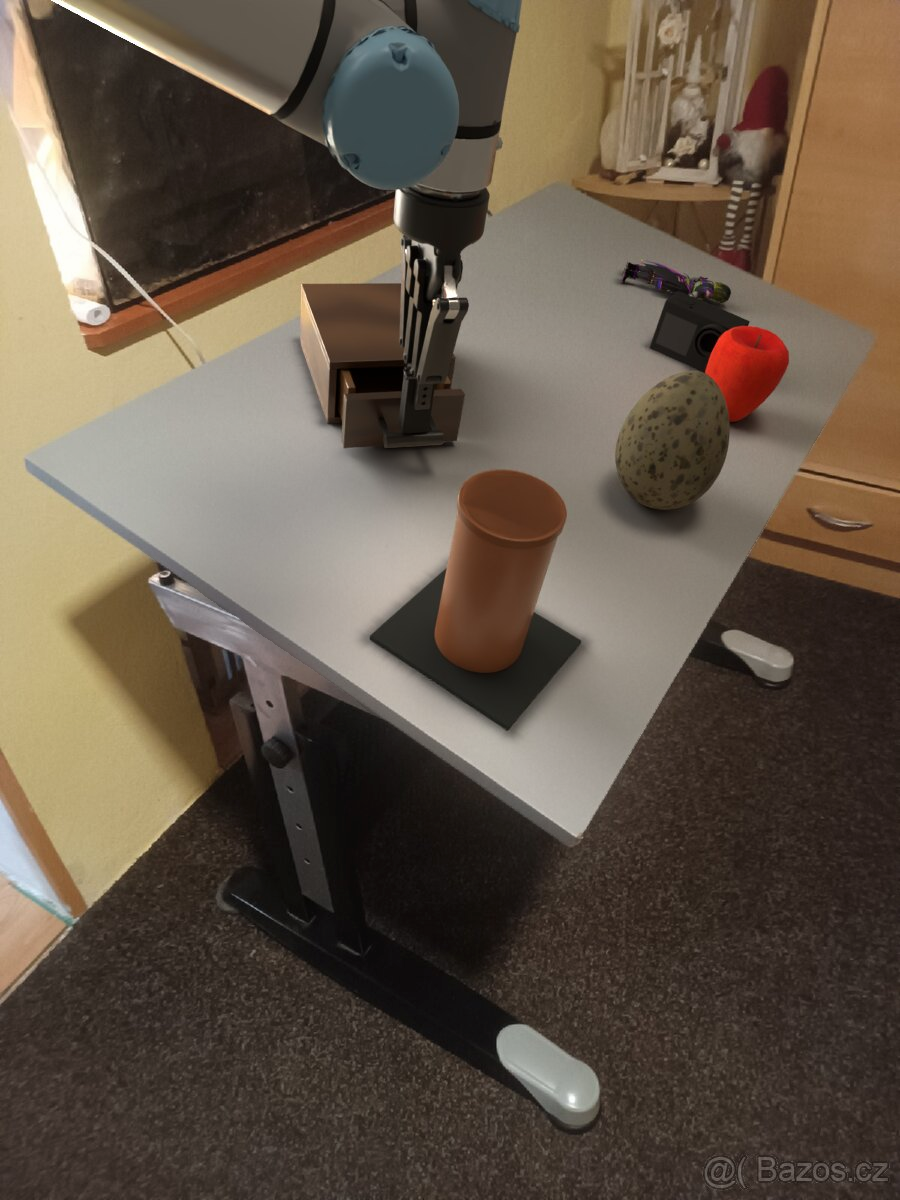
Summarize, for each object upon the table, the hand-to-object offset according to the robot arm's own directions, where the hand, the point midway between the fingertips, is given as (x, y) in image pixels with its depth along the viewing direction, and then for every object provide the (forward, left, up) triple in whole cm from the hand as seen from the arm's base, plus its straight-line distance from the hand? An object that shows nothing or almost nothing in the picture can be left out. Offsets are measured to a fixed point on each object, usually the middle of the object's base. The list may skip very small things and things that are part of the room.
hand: (413, 427), depth 82 cm
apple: (+36, +23, -5) cm, 43 cm away
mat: (+10, -22, -5) cm, 25 cm away
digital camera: (+32, +35, -5) cm, 48 cm away
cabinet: (-7, +15, -5) cm, 18 cm away
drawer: (-4, +8, -4) cm, 10 cm away
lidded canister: (+10, -22, -5) cm, 24 cm away
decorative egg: (+26, +3, -5) cm, 27 cm away
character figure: (+31, +54, -5) cm, 63 cm away
